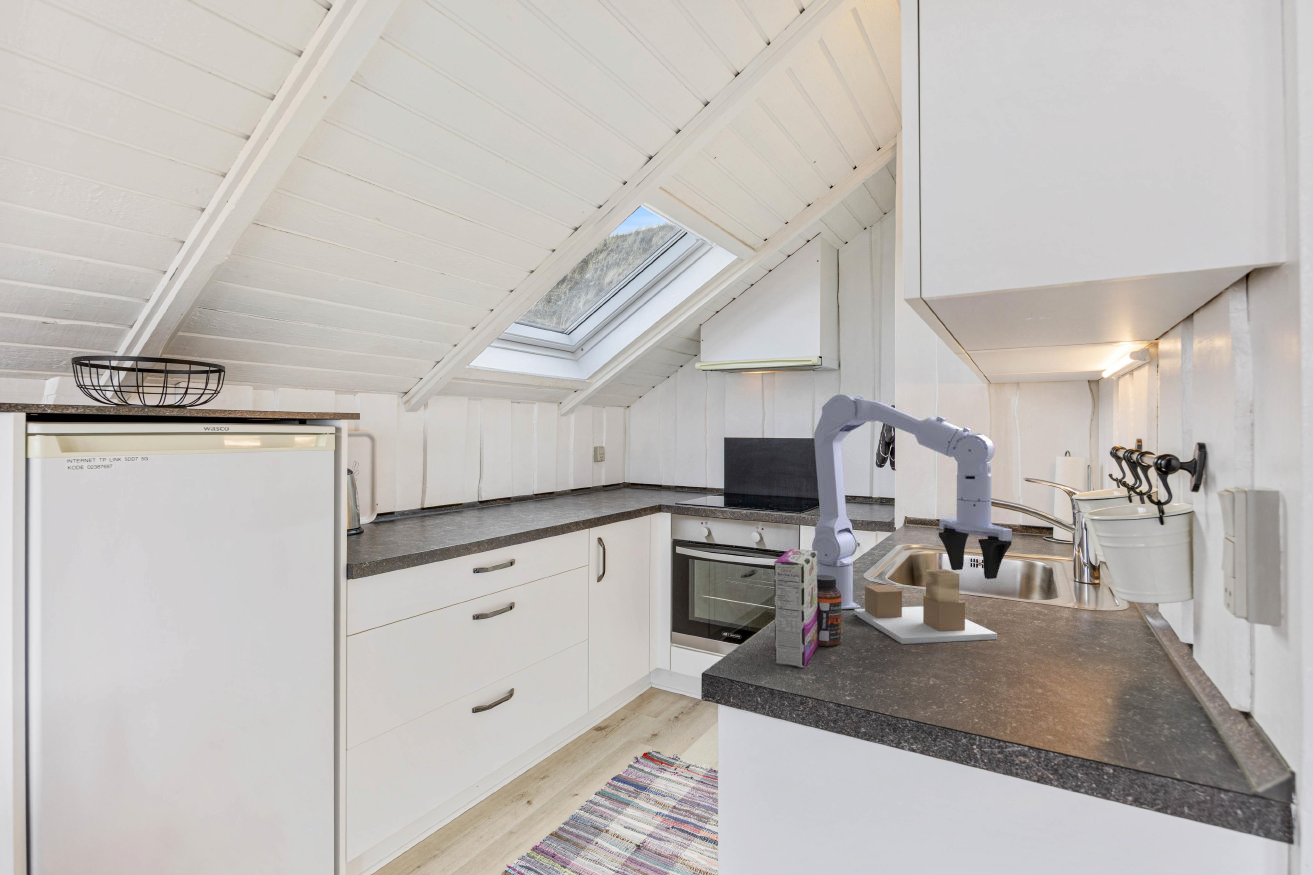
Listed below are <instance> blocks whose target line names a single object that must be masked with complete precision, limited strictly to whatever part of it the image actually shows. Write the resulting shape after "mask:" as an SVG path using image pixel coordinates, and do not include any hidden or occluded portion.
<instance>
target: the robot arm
mask: <svg viewBox="0 0 1313 875" xmlns="http://www.w3.org/2000/svg"><path fill="white" fill-rule="evenodd" d="M870 422H872V423H873V422H874V423H875V422H879V423H882V424H885V425H888V426H890V427H892V428H895V429H898V430H900V431H904V432H906V433H908V434H910V435H911V434H912V435H914V437H915V438H916V441H917V443H918V445H920V446H923V447H925V448H928V449H930V450H933V452H934V451H935V452H937V453H939V454H942V455H944V456H946V457H949V458H954V460H955V461H956V462H957V463H956V464H957V468H956V469H957V472H956V473H957V474H956V519H952V518H940V519H939V526H938V528H939V529H940V530H942V531H939V532H938V538H940V541H941V542H942V544H943V546H944V549H945V551H946V554H947V557H948V561H949V564H950V567H951V568H950V569H951V571H960V570H963V569H964V564H965V562H964V561H965V550H966V548H965V547H966V544H967V540H968V536H969V535H975V536H980V537H985V538H978V545H979V547H980V550H981V554H982V558H983V560H982V561H983V574H984V579H985V580H993V579H997V578H998V574H999V571H1000V567H1001V565H1002V562H1003V559H1004V557H1005V555H1006V554H1007V551H1008V550H1009V548H1010V547H1011V545H1012V539H1013V533H1012V532H1013V530H1012V528H1006V527H1003V526H999V525H996V524H992V474H991V471H992V462H991V460H992V459H993V458H994V455H995V452H996V451H995V445H994V443H993V442H992V440H991V439H990V438H989V437H987V436H985V435H984V434H983V433H973V434H971V430H972V429H970V428H969V427H963V428H961V427H959V426H956V425H954V424H952V423H949V422H947V420H946V418H945V417H942V416H940V415H939V416H936V418H935V417H933V416H930V417H927V418H925V419H920V418H918V417H915V416H914V415H911V414H909V413H906V412H904V411H902V410H900V409H898V408H895V407H893V406H890V405H889V404H886V403H884V402H881V401H878V400H875V399H869V398H865V397H863V396H860V395H859V396H856V395H855V396H852V395H851V396H849V395H846V394H836V395H834V396H832V397H831V398H830V399H829V400H828V401H827V402H825V403H824V404H823V406H822V407H821V416H820V419H819V420H818V423H817V426H816V428H815V430H814V433H813V440H814V451H815V452H814V453H815V465H816V477H817V491H818V492H817V493H818V502H819V504H818V505H819V519H818V521H817V523H816V525H815V527H814V539H813V540H812V544H811V551H817V575H829V576H833V577H835V578H836V588H837V589H838V590H839V591H840V592H841V601H842V602H841V610H852V609H853V610H854V609H861V605H860V604H858V603H856V602H854V600H853V598H854V597H853V592H854V591H853V590H854V589H853V588H854V587H853V585H854V582H853V578H854V577H853V576H854V575H853V572H854V571H853V570H854V560H853V556H854V555H855V554H856V552H857V550H858V548H859V547H858V546H859V545H858V539H857V537H856V535H855V533H854V531H853V524H852V522H851V520H850V519H849V518H848V516H847V508H846V507H847V506H846V505H847V504H846V495H845V494H846V493H845V481H844V469H843V468H844V467H843V457H842V456H843V455H842V454H843V453H842V446H841V444H842V443H841V442H842V441H843V440H844V439H845V438H846V437H847V436H848V435H849V434H850V433H851V432H852V431H854V430H856V429H858V428H859V427H861V426H864V425H865V424H867V423H870ZM986 537H987V538H986Z"/></svg>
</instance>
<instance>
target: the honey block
mask: <svg viewBox="0 0 1313 875" xmlns="http://www.w3.org/2000/svg"><path fill="white" fill-rule="evenodd" d="M925 596H926V597H927V598H929V599H932V600H934V601H936V602H938V603H944V602H959V600H960V573H957V572H955V571H953V570H950V569H946V568H944V569H926V570H925Z"/></svg>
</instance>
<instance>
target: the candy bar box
mask: <svg viewBox="0 0 1313 875" xmlns="http://www.w3.org/2000/svg"><path fill="white" fill-rule="evenodd" d="M773 568H774V646H775V647H774V652H775V653H774V655H775V656H774V660H775V661H774V662H775V664H777V665H781V666H787V667H793V668H800V669H805V668H806V666H807V665H808V663H809V661H810V660H811V659H812V656H813V655H814V653H815V652H816V650H817V649H818V646H819V645H818V616H817V615H818V614H817V551H812V550H807V549H798V548H795V549H794V548H793V549H792V548H791V549H789V550H787V551H786V552H785V553H783V555H781V556H780V557H779V558H777V559H776V560H775V561H774V567H773Z"/></svg>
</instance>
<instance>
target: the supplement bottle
mask: <svg viewBox="0 0 1313 875" xmlns="http://www.w3.org/2000/svg"><path fill="white" fill-rule="evenodd" d="M841 602H842V601H841V592H840V591H839V590H838V589H837V588H836V578H835V577H833V576H829V575H817V614H818V615H817V616H818V646H821V647H834V646H837V645H839V644H840V643H841V640H842V609H841Z"/></svg>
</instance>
